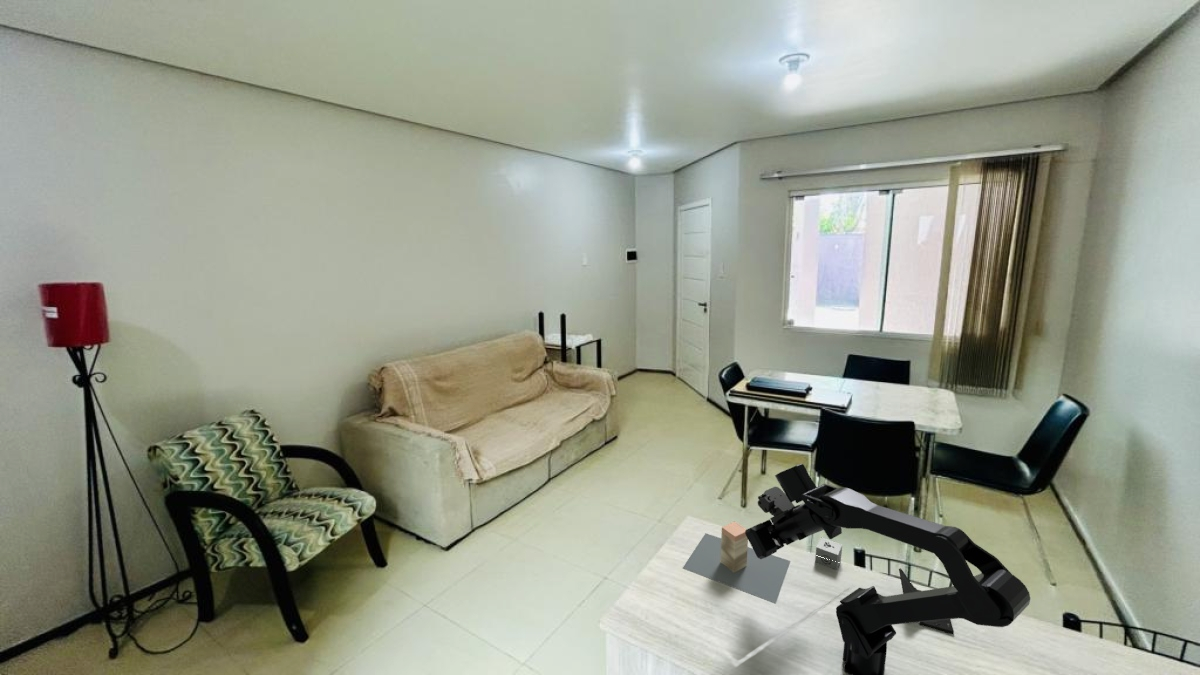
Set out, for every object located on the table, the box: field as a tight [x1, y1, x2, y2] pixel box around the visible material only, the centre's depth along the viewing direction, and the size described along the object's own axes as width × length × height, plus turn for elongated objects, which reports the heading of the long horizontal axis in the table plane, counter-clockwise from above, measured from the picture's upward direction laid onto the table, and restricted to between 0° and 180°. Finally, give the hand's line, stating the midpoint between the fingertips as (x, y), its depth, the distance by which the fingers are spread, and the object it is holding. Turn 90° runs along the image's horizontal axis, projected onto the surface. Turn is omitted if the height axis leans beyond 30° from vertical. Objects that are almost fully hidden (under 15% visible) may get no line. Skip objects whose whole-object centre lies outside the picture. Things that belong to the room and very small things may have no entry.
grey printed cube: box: [814, 537, 843, 570], centre depth 118 cm, size 5×5×5 cm
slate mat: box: [682, 533, 791, 604], centre depth 118 cm, size 22×16×1 cm
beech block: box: [720, 521, 749, 572], centre depth 117 cm, size 4×4×10 cm
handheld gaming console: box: [898, 567, 955, 635], centre depth 103 cm, size 12×7×10 cm
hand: (760, 539), depth 109 cm, fingers closed
